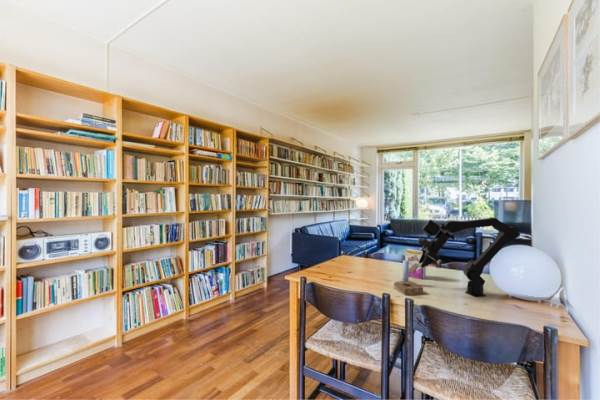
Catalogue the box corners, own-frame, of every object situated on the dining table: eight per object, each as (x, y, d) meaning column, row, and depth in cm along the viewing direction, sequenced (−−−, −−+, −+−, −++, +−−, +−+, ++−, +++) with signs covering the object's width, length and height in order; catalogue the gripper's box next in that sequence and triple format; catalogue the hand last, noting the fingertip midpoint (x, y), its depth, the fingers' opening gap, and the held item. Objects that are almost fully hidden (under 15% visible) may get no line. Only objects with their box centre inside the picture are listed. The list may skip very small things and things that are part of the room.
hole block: (411, 288, 149) (411, 281, 149) (423, 294, 139) (423, 287, 139) (394, 289, 147) (394, 282, 147) (405, 296, 137) (405, 288, 137)
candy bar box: (404, 276, 170) (404, 249, 170) (407, 274, 174) (407, 248, 174) (422, 280, 163) (423, 252, 162) (426, 278, 166) (426, 251, 166)
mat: (410, 281, 161) (410, 280, 161) (421, 286, 151) (421, 285, 151) (394, 282, 159) (394, 281, 159) (404, 287, 149) (404, 287, 149)
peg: (406, 283, 155) (406, 260, 155) (409, 285, 152) (409, 261, 152) (401, 283, 155) (401, 260, 155) (404, 285, 152) (404, 261, 152)
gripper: (423, 230, 155) (405, 252, 158) (427, 234, 137) (408, 259, 140) (441, 242, 152) (423, 264, 155) (448, 248, 134) (428, 273, 137)
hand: (420, 264), depth 147 cm, fingers open, 9 cm apart
